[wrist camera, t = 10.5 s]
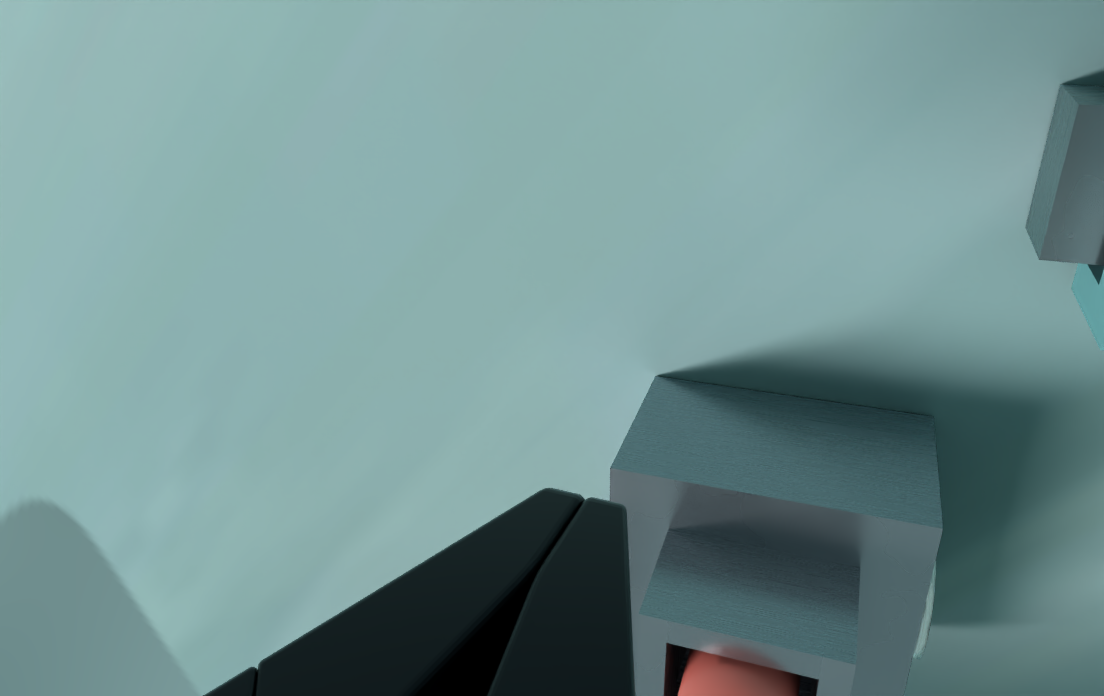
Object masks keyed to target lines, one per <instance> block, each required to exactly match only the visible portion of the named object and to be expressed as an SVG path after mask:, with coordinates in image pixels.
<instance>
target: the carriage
mask: <svg viewBox="0 0 1104 696" xmlns="http://www.w3.org/2000/svg"><path fill="white" fill-rule="evenodd" d="M1072 290H1073V293H1074V295H1075V297H1076V299H1077V301H1078V303H1079V305H1080V308H1081V310H1082V312H1083V314H1084V316H1085V318H1086V320H1087V322H1088V325H1089V327H1090V329H1091V331H1092V333H1093V335H1094V337H1095V340H1096V342H1097V344H1098V346H1099V348H1100V350H1104V266H1102V265H1092V264H1081V263H1078V266H1077V270H1076V274H1075V277H1074V281H1073V284H1072Z"/></svg>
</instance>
